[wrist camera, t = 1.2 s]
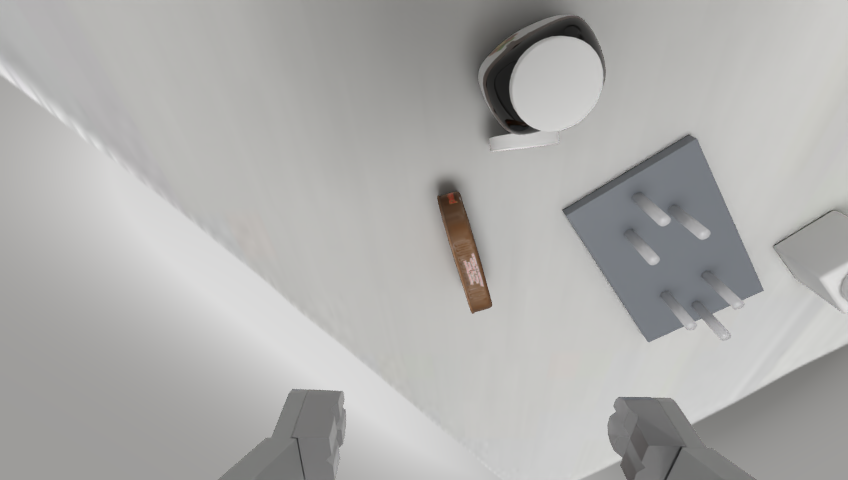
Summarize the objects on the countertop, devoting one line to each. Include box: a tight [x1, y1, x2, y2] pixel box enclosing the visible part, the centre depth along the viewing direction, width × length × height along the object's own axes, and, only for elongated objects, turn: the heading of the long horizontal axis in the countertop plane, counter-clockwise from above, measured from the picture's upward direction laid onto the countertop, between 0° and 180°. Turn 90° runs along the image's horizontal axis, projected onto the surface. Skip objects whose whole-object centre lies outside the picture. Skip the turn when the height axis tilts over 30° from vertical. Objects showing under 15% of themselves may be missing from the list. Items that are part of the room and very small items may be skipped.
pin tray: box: [563, 135, 764, 342], centre depth 46 cm, size 15×24×8 cm, turn 37°
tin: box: [437, 192, 492, 314], centre depth 46 cm, size 15×3×8 cm, turn 17°
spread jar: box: [478, 15, 606, 152], centre depth 36 cm, size 12×11×12 cm
